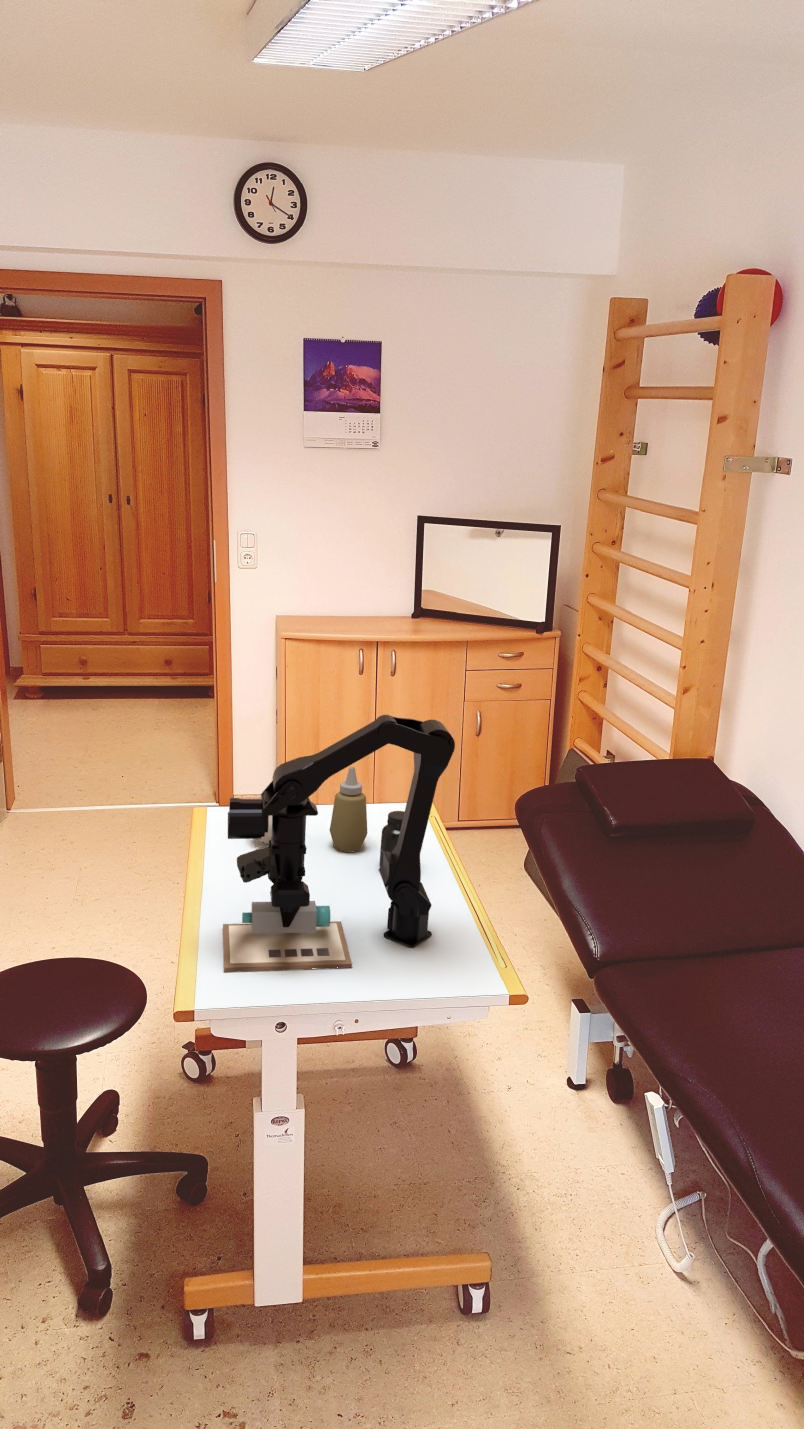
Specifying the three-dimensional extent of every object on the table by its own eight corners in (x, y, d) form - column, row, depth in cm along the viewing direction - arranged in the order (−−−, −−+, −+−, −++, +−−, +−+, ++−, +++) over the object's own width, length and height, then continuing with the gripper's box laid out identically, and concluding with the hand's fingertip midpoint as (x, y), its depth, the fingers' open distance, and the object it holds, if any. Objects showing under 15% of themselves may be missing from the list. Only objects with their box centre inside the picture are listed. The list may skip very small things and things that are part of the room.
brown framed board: (340, 925, 184) (341, 919, 183) (351, 967, 169) (352, 962, 169) (222, 928, 180) (223, 922, 179) (224, 972, 165) (224, 966, 165)
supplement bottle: (373, 870, 207) (376, 815, 204) (388, 859, 213) (392, 806, 210) (402, 879, 204) (406, 823, 201) (418, 867, 210) (422, 813, 207)
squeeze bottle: (324, 841, 220) (328, 762, 215) (359, 838, 223) (364, 760, 218) (335, 856, 213) (339, 775, 208) (371, 853, 215) (376, 773, 211)
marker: (327, 921, 180) (328, 900, 179) (329, 932, 176) (330, 911, 175) (241, 922, 177) (242, 902, 176) (242, 934, 173) (242, 912, 172)
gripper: (238, 817, 179) (236, 897, 184) (242, 860, 162) (239, 949, 166) (301, 816, 182) (298, 896, 186) (311, 860, 164) (307, 947, 168)
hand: (285, 920), depth 176 cm, fingers closed on marker, 4 cm apart
